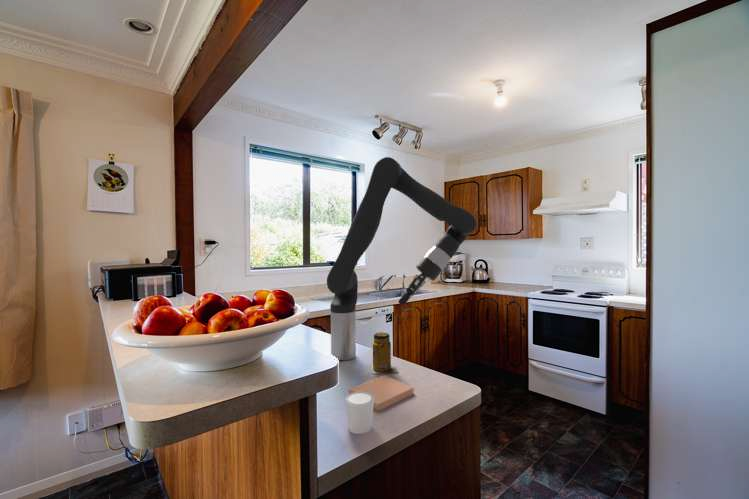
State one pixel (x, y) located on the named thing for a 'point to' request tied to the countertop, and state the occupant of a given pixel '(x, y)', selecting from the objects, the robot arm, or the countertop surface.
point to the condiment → (382, 354)
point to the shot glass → (359, 412)
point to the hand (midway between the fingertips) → (400, 304)
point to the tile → (384, 391)
